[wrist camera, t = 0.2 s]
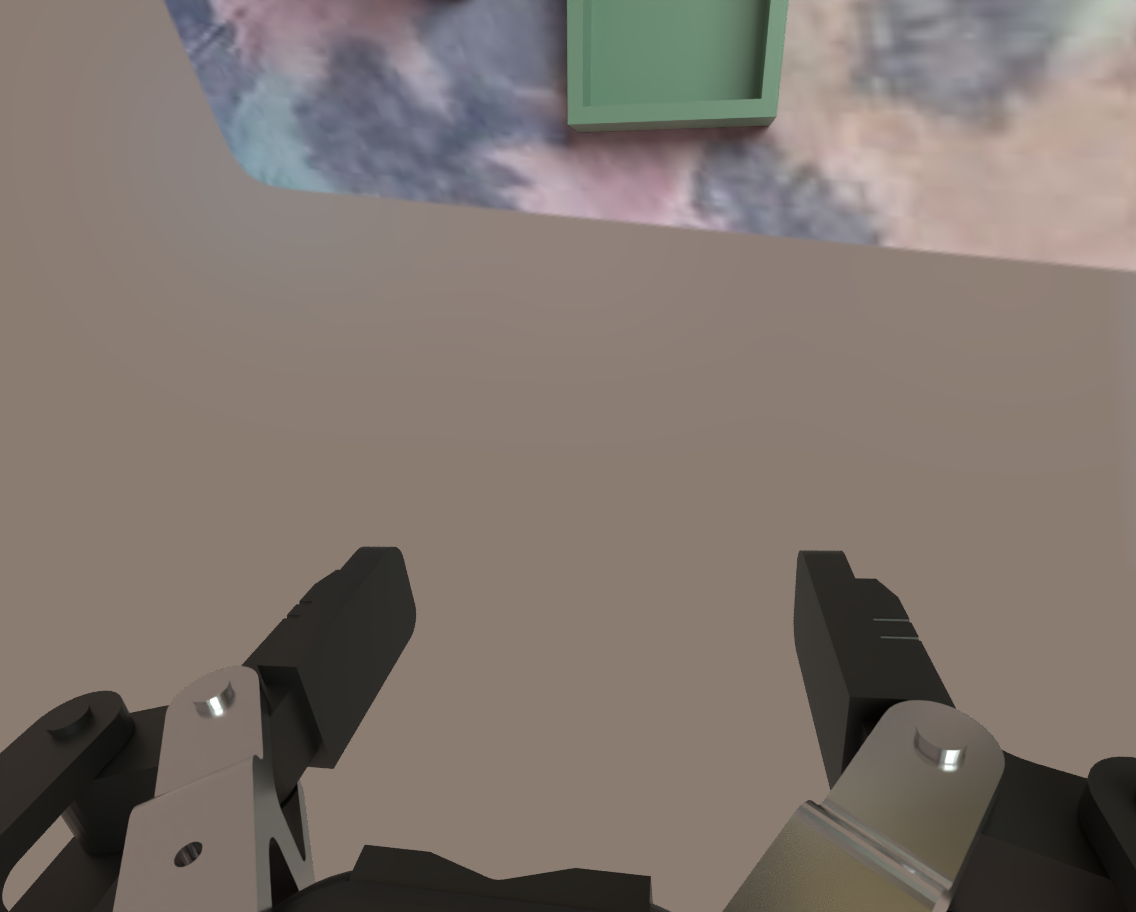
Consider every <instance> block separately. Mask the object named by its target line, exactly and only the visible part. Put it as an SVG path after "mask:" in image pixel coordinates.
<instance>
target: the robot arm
mask: <svg viewBox="0 0 1136 912" xmlns="http://www.w3.org/2000/svg"><path fill="white" fill-rule="evenodd" d="M415 622H416V607H415V603H414V599H413V595H412V591H411V587H410V583H409V578H408V575H407V571H406V567H405V562H404V558H403V555H402V553H401V551H400V550H399V549H398V548H397V547H361V548H359V549H358V550H357V551H356V552H355V553H354V554H353V555H352V557H351V558H350V559H349V560H348V561H347V562H346V564H345V565H344V566H343V567H342V568H341V569H340V570H336V571H334V572H333V573H331V574H330V575H328V576H327V577H325V578H323V579H322V580H320V581H319V582H318V583H316V584H315V585H314V586H313V587H312V588H311V589H310V590H309V591H308V592H307V593H306V595H305V596H304V597H303V598H302V599H301V600H300V603H299V605H296V606H295V607H294V608H293V609H292V610H291V611H290V612H289V613H288V615H287V619H283V620H282V621H281V622H280V623H279V625H278V626H277V627H276V628H275V629H274V630H273V631H272V632H271V633H270V634H269V636H268V637H267V638H266V639H265V640H264V641H263V642H262V643H261V644H260V645H259V647H258V648H257V649H256V650H255V651H254V652H253V653H252V654H251V655H250V657H249V658H248V659H247V660H246V661H245V662H244V663H243V664H242V666H232V667H227V668H222V669H219V670H216V671H213V672H211V673H208V674H206V675H204V676H202V677H200V678H198V679H197V680H195V681H193V682H192V683H190V684H189V685H188V686H186V687H185V688H184V689H183V690H182V691H180V692H179V693H178V694H177V696H176V697H175V698H174V699H173V700H172V702H171V703H170V705H168V706H162V707H157V708H153V709H147V710H142V711H137V712H133V713H129V711H128V709H127V707H126V705H125V704H124V702H123V700H122V698H121V696H120V695H119V694H117V693H116V692H112V691H98V692H92V693H88V694H85V695H82V696H79V697H76V698H74V699H72V700H69V701H67V702H65V703H63V704H61V705H60V706H58V707H56V708H54V709H53V710H51V711H49V712H48V713H47V714H45V715H44V716H42V717H41V718H40V719H39V720H37V721H36V722H35V723H34V724H33V725H32V726H31V727H29V728H28V729H27V730H26V731H25V732H24V733H23V734H21V735H20V736H19V737H18V738H17V739H16V740H15V741H14V742H13V743H11V744H10V745H9V746H8V747H7V748H6V749H5V750H4V751H2V752H1V753H0V912H8V910H7V909H6V908H5V906H4V904H3V901H2V892H3V887H4V884H5V881H6V879H7V877H8V875H9V873H10V871H11V870H12V868H13V867H14V866H15V864H16V863H17V862H18V861H19V860H20V859H21V858H22V857H23V855H24V854H25V853H26V852H27V851H28V850H29V849H30V848H31V847H32V846H33V844H34V843H35V842H36V841H37V840H38V839H39V838H40V837H41V836H42V835H43V834H44V833H45V831H46V830H47V829H48V828H49V827H50V826H51V825H52V824H53V823H54V822H55V821H56V819H57V818H58V817H59V816H60V815H61V816H62V818H63V819H64V821H65V822H66V824H67V825H68V827H69V829H70V830H71V832H72V833H73V835H74V837H73V838H72V839H71V841H70V842H69V843H68V844H67V845H66V846H65V848H64V849H63V850H62V851H61V852H60V853H59V854H58V856H57V857H56V858H55V859H54V861H52V863H51V864H50V865H49V866H48V867H47V868H46V870H45V871H44V872H43V873H42V874H41V875H40V876H39V878H38V879H37V880H36V881H35V882H34V883H33V885H32V886H31V887H30V888H29V889H28V890H27V891H26V893H25V894H24V895H23V896H22V897H21V898H20V900H19V901H18V902H17V903H16V904H15V905H14V907H13V908H12V909H11V910H10V911H9V912H670V911H669V910H666V909H664V908H662V907H660V906H657V905H655V904H653V902H652V887H651V876H642V875H634V874H625V873H616V872H607V871H598V870H589V869H580V868H573V869H566V870H560V871H554V872H547V873H541V874H536V875H529V876H523V877H517V878H511V879H504V880H494V879H491V878H488V877H485V876H483V875H481V874H479V873H476V872H474V871H472V870H470V869H467V868H465V867H463V866H461V865H458V864H456V863H454V862H452V861H449V860H447V859H445V858H442V857H440V856H438V855H436V854H433V853H431V852H426V851H417V850H408V849H399V848H389V847H381V846H371V845H365V846H364V847H363V850H362V852H361V854H360V856H359V858H358V860H357V862H356V865H355V866H354V869H353V871H348V872H344V873H341V874H337V875H334V876H331V877H328V878H326V879H324V880H321V881H319V882H315V876H314V870H313V861H312V853H311V845H310V837H309V830H308V821H307V813H306V806H305V797H304V790H303V787H302V785H301V782H300V777H301V776H302V774H303V773H304V771H305V770H306V768H307V767H318V768H330V769H333V768H334V767H335V765H336V764H337V762H338V760H339V759H340V757H341V755H342V753H343V752H344V750H345V748H346V747H347V745H348V743H349V742H350V740H351V738H352V736H353V735H354V733H355V731H356V730H357V728H358V726H359V724H360V723H361V721H362V719H363V718H364V716H365V714H366V712H367V711H368V709H369V708H370V706H371V704H372V702H373V701H374V699H375V697H376V696H377V694H378V692H379V691H380V689H381V687H382V685H383V684H384V682H385V680H386V679H387V677H388V675H389V674H390V672H391V670H392V668H393V666H394V665H395V663H396V662H397V660H398V658H399V657H400V655H401V653H402V651H403V650H404V648H405V646H406V645H407V643H408V641H409V640H410V638H411V636H412V634H413V631H414V627H415ZM794 638H795V646H796V651H797V656H798V660H799V664H800V668H801V672H802V676H803V680H804V685H805V689H806V693H807V697H808V700H809V705H810V709H811V713H812V717H813V721H814V725H815V729H816V733H817V737H818V741H819V745H820V750H821V754H822V758H823V762H824V766H825V770H826V774H827V778H828V782H829V786H830V790H831V791H830V793H829V794H828V795H827V797H826V798H825V800H824V801H823V802H822V803H821V804H820V805H817V804H816V803H814V802H813V801H811V800H808V801H806V802H804V803H803V804H802V805H801V806H800V807H799V808H798V809H797V810H796V811H795V812H794V814H793V815H792V816H791V818H790V819H789V821H788V822H787V823H786V825H785V826H784V828H783V829H782V830H781V832H780V833H779V834H778V836H777V837H776V838H775V840H774V841H773V843H772V844H771V846H770V847H769V848H768V850H767V851H766V852H765V854H764V855H763V857H762V858H761V859H760V861H759V862H758V863H757V865H756V866H755V868H754V869H753V870H752V872H751V873H750V874H749V876H748V877H747V879H746V880H745V881H744V883H743V884H742V886H741V887H740V888H739V890H738V891H737V893H736V894H735V895H734V896H733V898H732V899H731V901H730V902H729V903H728V905H727V906H726V908H725V909H724V910H723V912H1136V758H1134V757H1111V758H1107V759H1103V760H1101V761H1099V762H1098V763H1096V764H1095V765H1094V766H1093V767H1092V768H1091V770H1090V772H1089V775H1088V778H1083V777H1080V776H1077V775H1073V774H1070V773H1066V772H1063V771H1059V770H1056V769H1053V768H1050V767H1046V766H1043V765H1039V764H1036V763H1033V762H1030V761H1027V760H1024V759H1021V758H1019V757H1016V756H1014V755H1012V754H1009V753H1007V752H1005V751H1003V750H1002V749H1001V747H1000V745H999V743H998V742H997V740H996V739H995V738H994V736H993V735H992V734H991V733H990V732H989V731H988V730H987V729H986V728H985V727H984V726H983V725H981V724H980V723H979V722H978V721H976V720H975V719H973V718H972V717H970V716H969V715H967V714H965V713H963V712H961V711H960V710H957V709H956V708H955V706H954V704H953V702H952V700H951V698H950V696H949V694H948V692H947V690H946V688H945V687H944V684H943V683H942V681H941V679H940V677H939V675H938V673H937V671H936V669H935V667H934V665H933V663H932V662H931V659H930V658H929V656H928V654H927V652H926V650H925V648H924V646H923V644H922V642H921V641H919V639H918V635H917V633H916V631H915V629H914V627H913V625H912V623H910V622H909V617H908V615H907V613H906V611H905V610H904V608H903V606H902V604H901V602H900V600H899V598H898V597H897V596H896V595H895V594H894V593H892V592H891V591H890V590H889V589H887V588H886V587H885V586H884V585H883V584H882V583H880V582H879V581H878V580H877V579H856V578H855V577H854V574H853V572H852V570H851V568H850V565H849V563H848V561H847V558H846V556H845V554H844V553H843V551H799V553H798V558H797V571H796V587H795V606H794Z"/></svg>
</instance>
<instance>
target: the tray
mask: <svg viewBox="0 0 1136 912" xmlns="http://www.w3.org/2000/svg"><path fill="white" fill-rule="evenodd" d="M787 10H788V0H567V92H568V125H569V126H570V127H572V128H573V129H575V130H576V131H577V132H604V131H631V130H659V129H687V128H715V127H743V126H770V125H771V123H772V122H773V121H774V119H775V118H776V116H777V106H778V96H779V87H780V77H781V68H782V58H783V48H784V39H785V29H786V20H787Z"/></svg>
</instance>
